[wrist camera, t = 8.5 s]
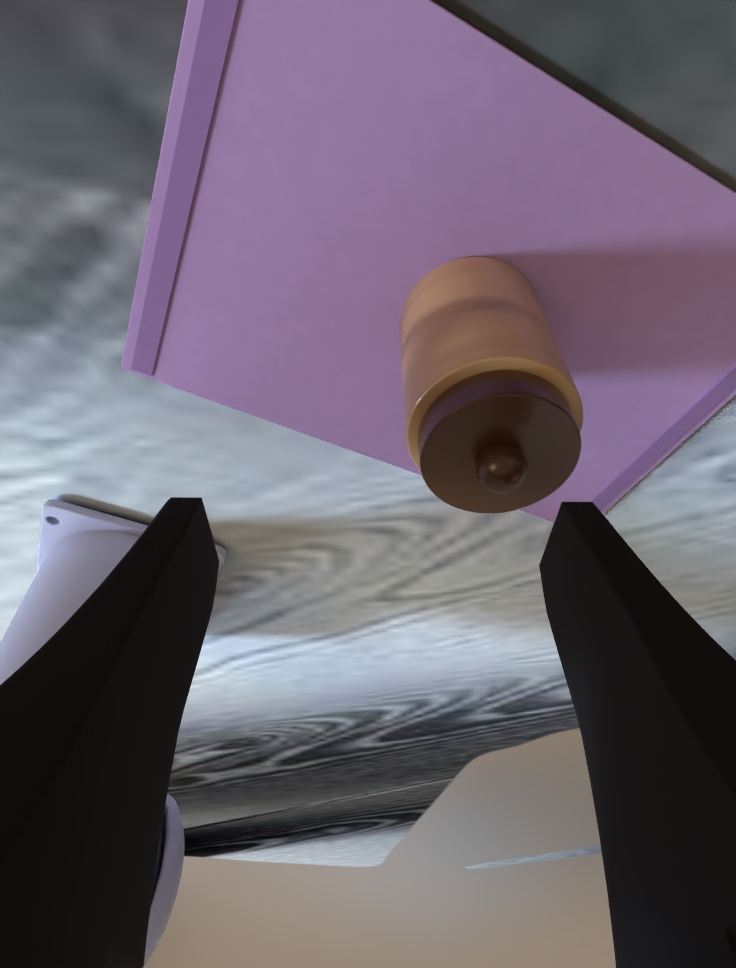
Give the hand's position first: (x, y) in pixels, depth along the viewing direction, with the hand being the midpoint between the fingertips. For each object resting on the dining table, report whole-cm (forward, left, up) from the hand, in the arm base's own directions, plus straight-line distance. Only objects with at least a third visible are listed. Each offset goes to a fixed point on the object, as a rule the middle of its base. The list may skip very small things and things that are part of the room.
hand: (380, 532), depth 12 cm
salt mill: (+1, -3, -9) cm, 9 cm away
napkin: (+1, -3, -9) cm, 10 cm away
